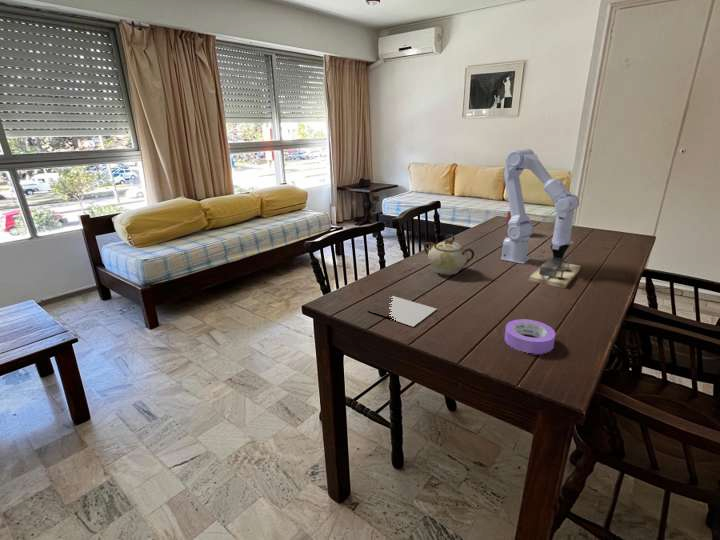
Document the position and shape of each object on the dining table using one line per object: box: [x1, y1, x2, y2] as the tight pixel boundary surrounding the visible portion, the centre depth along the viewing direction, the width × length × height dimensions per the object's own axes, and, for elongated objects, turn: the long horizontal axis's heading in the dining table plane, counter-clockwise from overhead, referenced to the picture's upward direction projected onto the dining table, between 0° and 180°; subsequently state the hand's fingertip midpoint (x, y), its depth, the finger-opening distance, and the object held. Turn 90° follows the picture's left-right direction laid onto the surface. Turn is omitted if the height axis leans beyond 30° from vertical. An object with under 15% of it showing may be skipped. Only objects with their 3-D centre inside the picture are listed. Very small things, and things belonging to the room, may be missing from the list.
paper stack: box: [389, 295, 437, 328], centre depth 117 cm, size 23×25×1 cm
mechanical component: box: [504, 210, 511, 234], centre depth 193 cm, size 12×10×10 cm
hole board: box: [528, 259, 582, 289], centre depth 140 cm, size 12×23×5 cm, turn 140°
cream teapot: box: [423, 233, 475, 276], centre depth 144 cm, size 20×15×15 cm
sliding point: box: [547, 255, 572, 269], centre depth 141 cm, size 8×3×3 cm, turn 50°
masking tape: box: [504, 318, 556, 355], centre depth 97 cm, size 12×12×4 cm
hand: (557, 263), depth 144 cm, fingers closed
